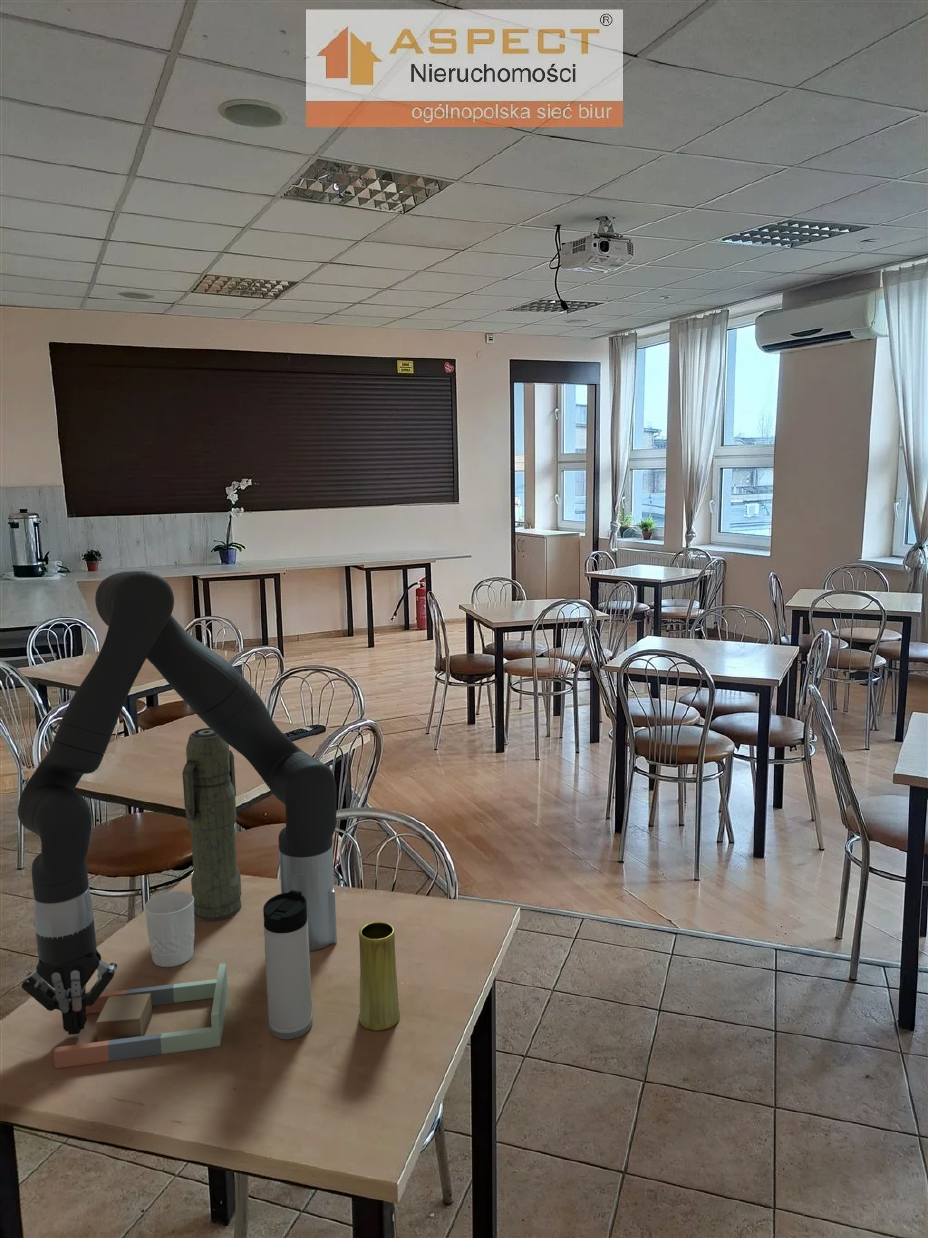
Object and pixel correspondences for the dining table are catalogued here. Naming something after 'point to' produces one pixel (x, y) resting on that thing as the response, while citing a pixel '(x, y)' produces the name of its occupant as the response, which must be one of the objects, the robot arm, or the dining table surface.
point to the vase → (378, 977)
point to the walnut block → (124, 1017)
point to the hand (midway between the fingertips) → (75, 1030)
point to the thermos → (212, 825)
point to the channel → (155, 1042)
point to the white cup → (171, 927)
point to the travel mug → (287, 965)
